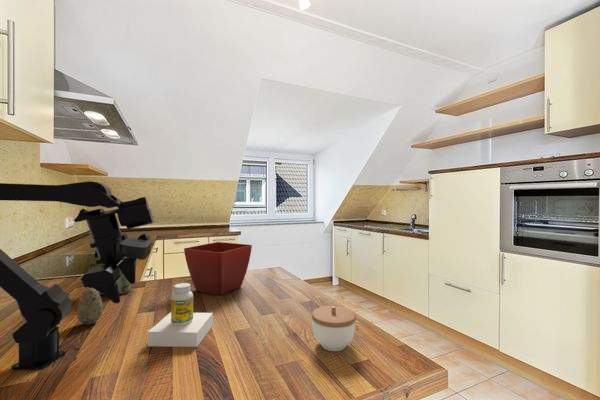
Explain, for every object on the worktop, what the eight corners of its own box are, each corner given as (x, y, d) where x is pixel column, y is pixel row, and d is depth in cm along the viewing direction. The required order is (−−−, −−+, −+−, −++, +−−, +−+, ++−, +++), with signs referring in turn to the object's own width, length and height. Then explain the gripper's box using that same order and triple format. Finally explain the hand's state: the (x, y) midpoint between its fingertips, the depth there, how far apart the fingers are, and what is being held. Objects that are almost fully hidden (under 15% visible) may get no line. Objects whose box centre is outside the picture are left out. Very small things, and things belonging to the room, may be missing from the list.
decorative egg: (72, 329, 79) (72, 292, 79) (82, 320, 84) (82, 286, 84) (97, 327, 80) (98, 290, 80) (105, 318, 86) (106, 284, 86)
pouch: (116, 298, 103) (116, 228, 103) (87, 296, 105) (87, 227, 105) (138, 288, 114) (138, 225, 114) (111, 287, 116) (112, 224, 116)
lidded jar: (320, 359, 65) (320, 317, 65) (306, 337, 75) (306, 301, 75) (363, 353, 68) (363, 313, 68) (344, 332, 78) (344, 297, 78)
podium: (197, 346, 70) (197, 332, 70) (147, 346, 70) (147, 331, 70) (212, 325, 82) (212, 312, 82) (170, 324, 82) (170, 312, 82)
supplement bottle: (190, 315, 80) (190, 281, 80) (195, 323, 75) (195, 286, 75) (169, 320, 77) (169, 284, 77) (173, 327, 72) (173, 289, 72)
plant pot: (182, 291, 111) (182, 247, 111) (217, 279, 128) (218, 241, 128) (219, 300, 102) (220, 252, 102) (252, 286, 119) (253, 245, 119)
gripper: (126, 241, 60) (146, 306, 64) (154, 216, 78) (169, 268, 82) (68, 252, 59) (93, 318, 63) (111, 224, 77) (127, 277, 81)
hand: (125, 292), depth 72 cm, fingers open, 9 cm apart
